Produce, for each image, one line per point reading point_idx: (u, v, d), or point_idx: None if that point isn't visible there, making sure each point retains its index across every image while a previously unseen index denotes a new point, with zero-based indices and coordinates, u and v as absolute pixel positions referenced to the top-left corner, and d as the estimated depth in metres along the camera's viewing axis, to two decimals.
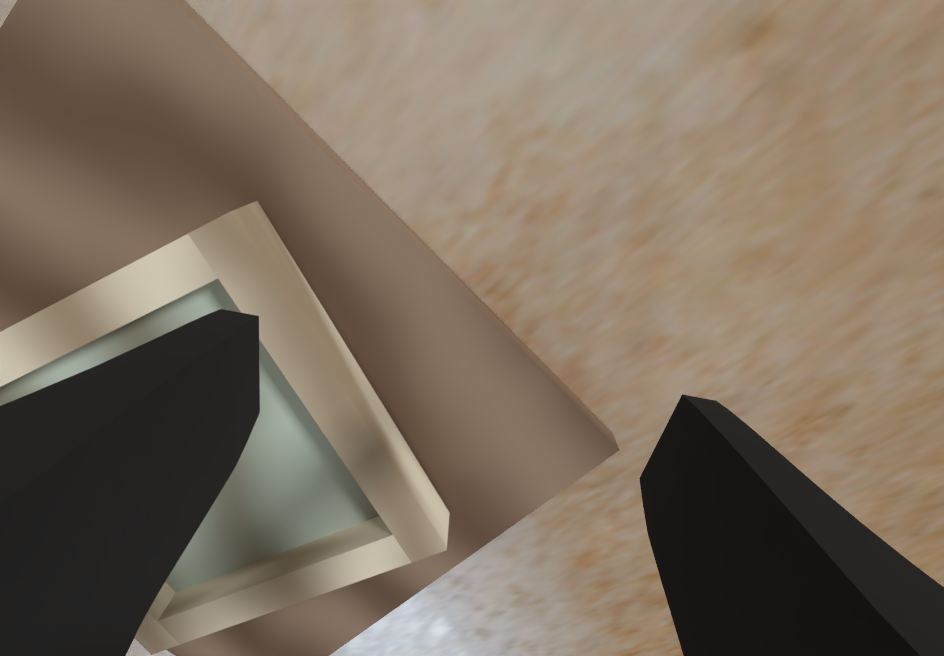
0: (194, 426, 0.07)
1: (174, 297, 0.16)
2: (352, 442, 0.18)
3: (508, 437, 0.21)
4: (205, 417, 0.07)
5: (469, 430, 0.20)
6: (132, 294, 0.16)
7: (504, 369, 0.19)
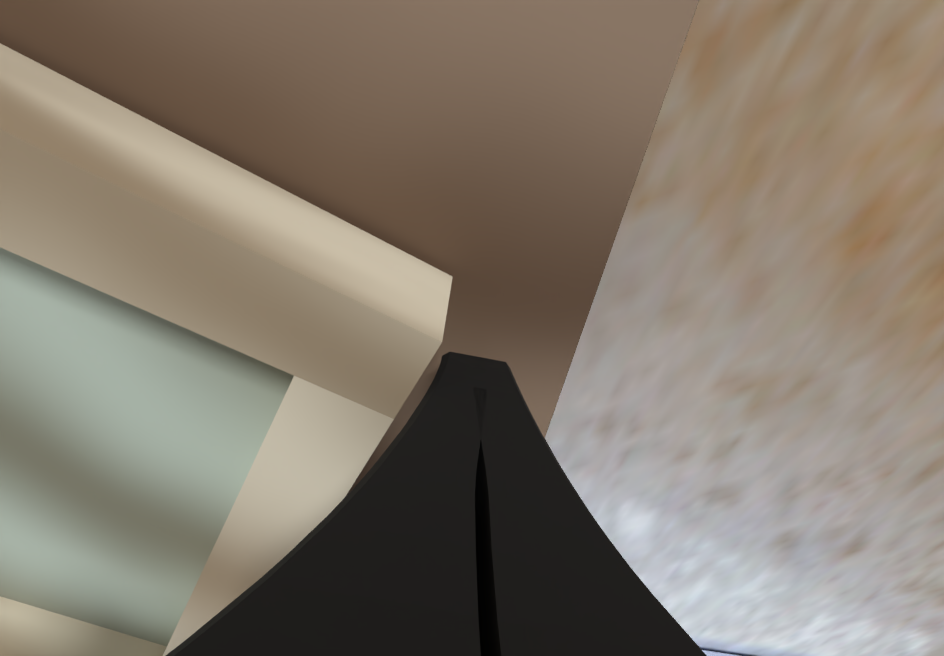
0: None
1: None
2: None
3: None
4: None
5: (328, 15, 0.07)
6: None
7: None
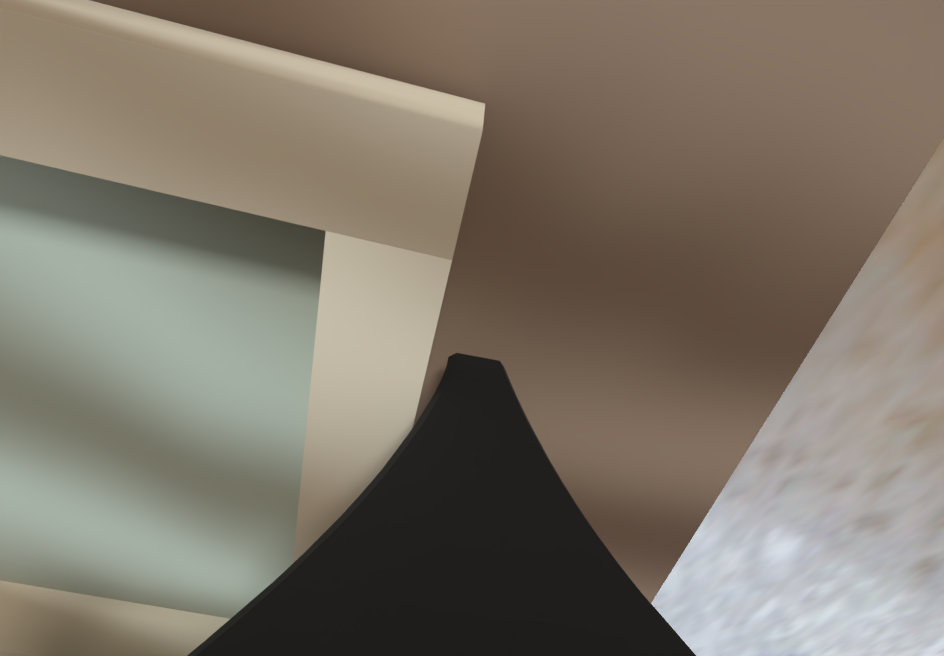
0: None
1: None
2: None
3: (735, 31, 0.07)
4: None
5: (620, 81, 0.07)
6: None
7: None
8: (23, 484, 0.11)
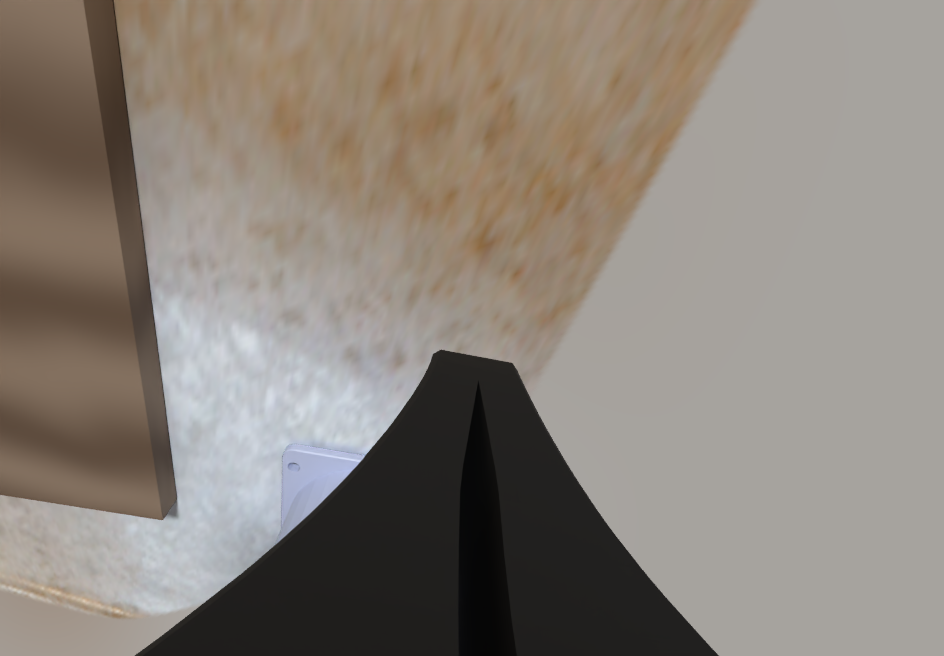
0: None
1: None
2: None
3: None
4: None
5: None
6: None
7: None
8: None
